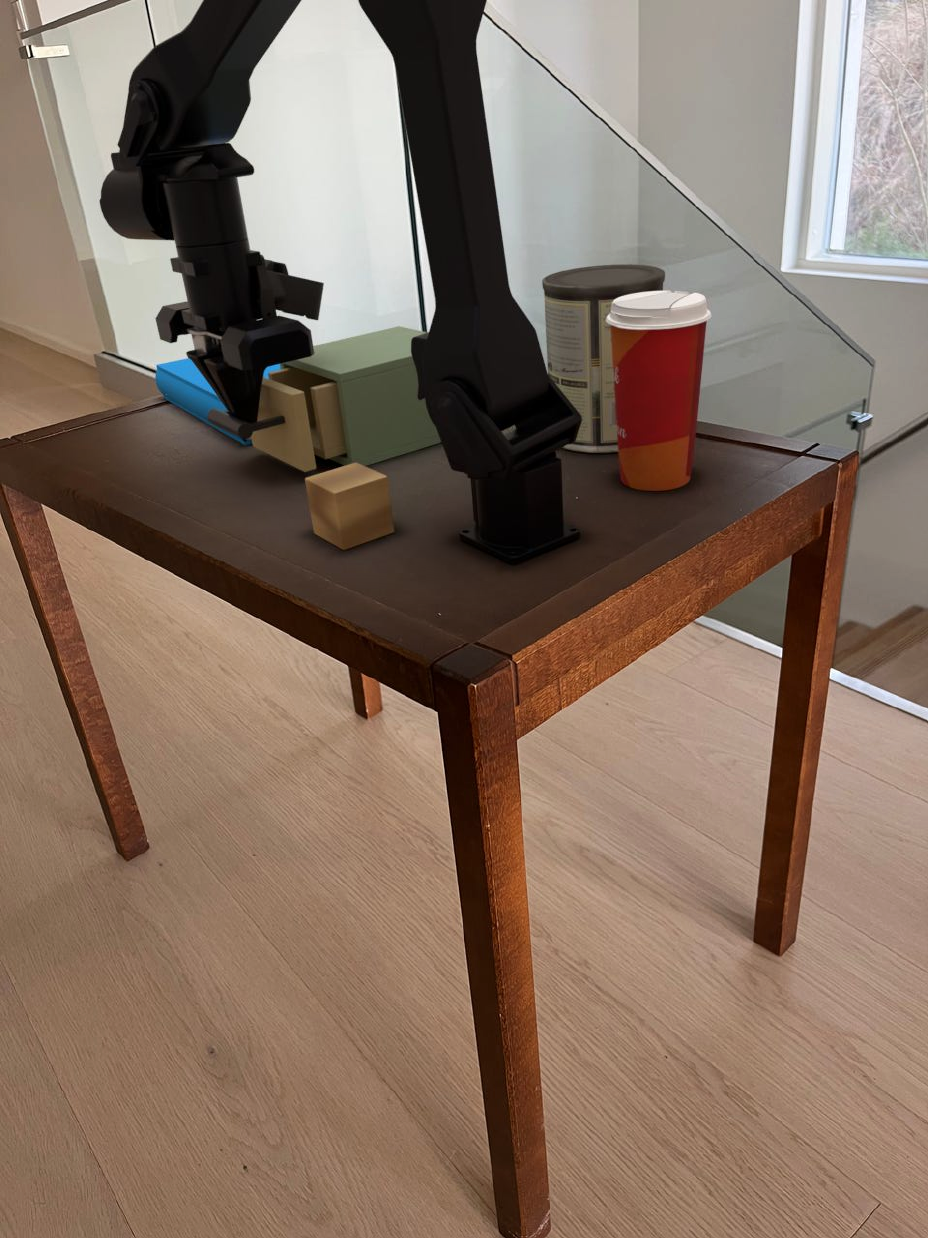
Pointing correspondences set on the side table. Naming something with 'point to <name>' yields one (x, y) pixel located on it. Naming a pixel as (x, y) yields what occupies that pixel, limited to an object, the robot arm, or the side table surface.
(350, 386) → the cabinet
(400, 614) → the side table surface
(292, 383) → the drawer
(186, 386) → the book
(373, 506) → the block
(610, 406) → the coffee can
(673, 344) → the paper cup
